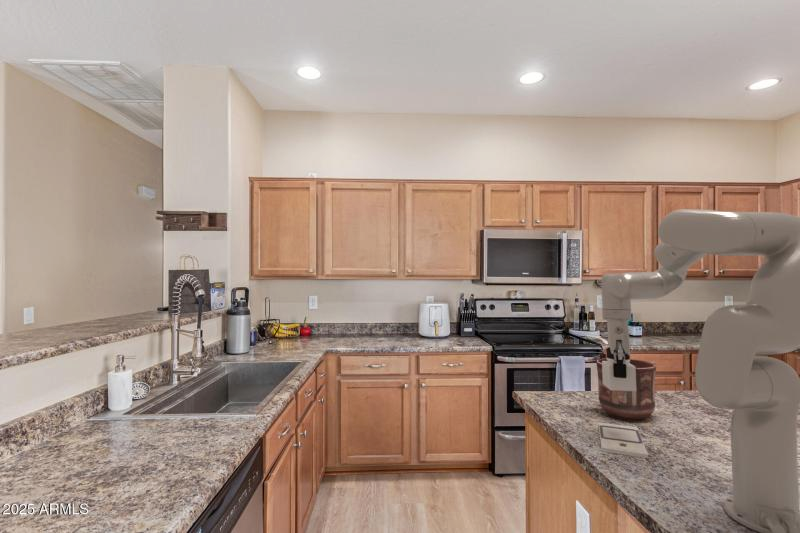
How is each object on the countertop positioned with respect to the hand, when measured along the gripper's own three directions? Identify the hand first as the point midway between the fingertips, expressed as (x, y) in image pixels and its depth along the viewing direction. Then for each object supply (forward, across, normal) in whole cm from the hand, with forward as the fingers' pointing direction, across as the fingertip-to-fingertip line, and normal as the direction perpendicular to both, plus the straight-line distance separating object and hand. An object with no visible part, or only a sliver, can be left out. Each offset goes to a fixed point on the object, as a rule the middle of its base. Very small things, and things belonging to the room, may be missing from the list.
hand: (618, 373), depth 116 cm
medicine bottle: (+4, 0, 0) cm, 4 cm away
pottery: (+19, +22, -4) cm, 29 cm away
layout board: (+19, -2, 0) cm, 19 cm away
